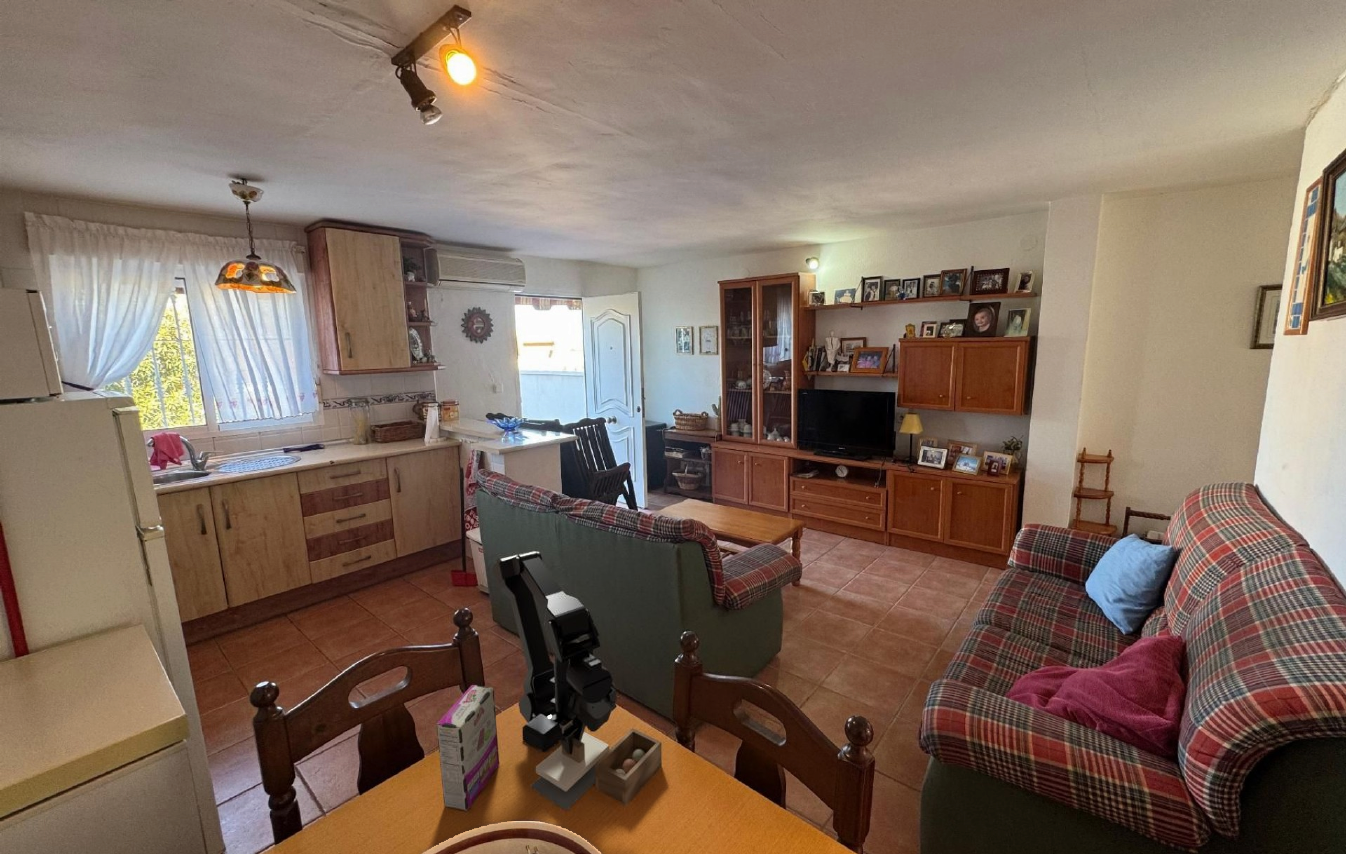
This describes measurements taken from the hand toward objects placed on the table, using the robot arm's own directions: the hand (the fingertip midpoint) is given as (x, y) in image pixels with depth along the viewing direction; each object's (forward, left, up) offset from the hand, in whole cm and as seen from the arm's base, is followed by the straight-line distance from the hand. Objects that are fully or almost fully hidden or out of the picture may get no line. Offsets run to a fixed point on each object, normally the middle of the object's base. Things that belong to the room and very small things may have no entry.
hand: (572, 750), depth 101 cm
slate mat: (0, 0, -5) cm, 5 cm away
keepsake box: (+9, +5, -5) cm, 12 cm away
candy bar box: (-14, -12, -5) cm, 19 cm away
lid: (0, 0, -2) cm, 2 cm away
